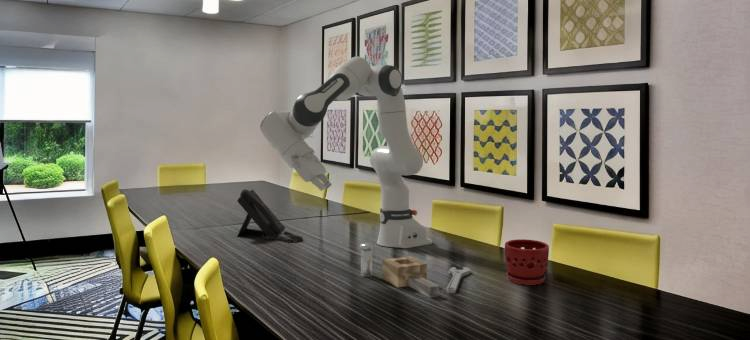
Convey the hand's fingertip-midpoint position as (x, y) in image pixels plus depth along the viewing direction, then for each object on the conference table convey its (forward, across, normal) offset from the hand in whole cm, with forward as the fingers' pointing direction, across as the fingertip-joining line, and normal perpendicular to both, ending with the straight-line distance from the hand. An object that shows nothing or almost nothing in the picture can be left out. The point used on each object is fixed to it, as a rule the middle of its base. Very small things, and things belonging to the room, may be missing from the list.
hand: (326, 188), depth 171 cm
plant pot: (+62, +1, -28) cm, 68 cm away
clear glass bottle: (+29, 0, +9) cm, 30 cm away
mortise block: (+40, -9, -2) cm, 41 cm away
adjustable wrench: (+48, -1, -11) cm, 49 cm away
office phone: (-4, +55, +43) cm, 70 cm away
